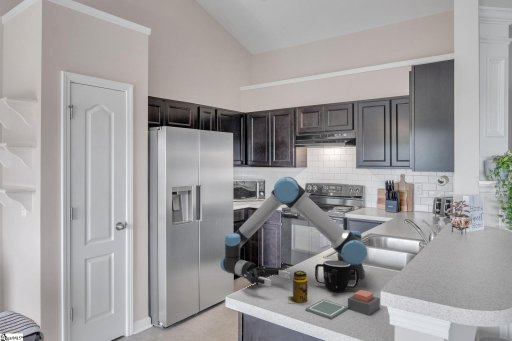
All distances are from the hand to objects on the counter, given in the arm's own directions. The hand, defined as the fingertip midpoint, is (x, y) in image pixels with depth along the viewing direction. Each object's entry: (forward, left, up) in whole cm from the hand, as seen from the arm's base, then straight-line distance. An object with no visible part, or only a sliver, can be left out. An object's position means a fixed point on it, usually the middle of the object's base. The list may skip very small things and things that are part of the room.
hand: (280, 279), depth 151 cm
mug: (-22, +14, -7) cm, 27 cm away
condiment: (0, +9, -7) cm, 12 cm away
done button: (-11, +33, -4) cm, 35 cm away
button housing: (-11, +33, -7) cm, 36 cm away
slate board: (0, +23, -7) cm, 24 cm away
